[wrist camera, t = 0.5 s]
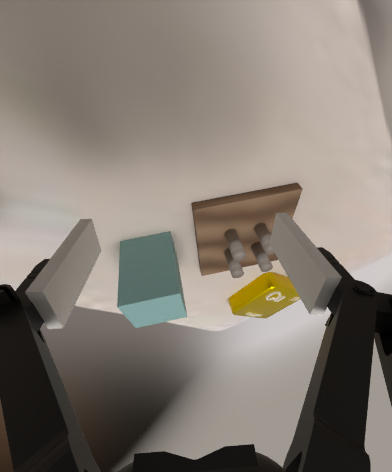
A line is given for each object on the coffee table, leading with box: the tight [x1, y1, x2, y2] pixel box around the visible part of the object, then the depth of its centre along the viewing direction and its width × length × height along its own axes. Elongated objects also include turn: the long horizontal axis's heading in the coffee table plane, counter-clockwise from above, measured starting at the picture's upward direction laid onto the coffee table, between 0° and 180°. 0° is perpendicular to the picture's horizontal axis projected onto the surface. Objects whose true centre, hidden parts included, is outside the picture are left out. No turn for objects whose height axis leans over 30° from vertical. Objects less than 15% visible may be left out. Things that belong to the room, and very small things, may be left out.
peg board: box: [192, 183, 302, 278], centre depth 37 cm, size 18×16×6 cm
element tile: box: [228, 272, 301, 318], centre depth 58 cm, size 15×15×5 cm
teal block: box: [117, 232, 187, 328], centre depth 35 cm, size 8×8×11 cm
